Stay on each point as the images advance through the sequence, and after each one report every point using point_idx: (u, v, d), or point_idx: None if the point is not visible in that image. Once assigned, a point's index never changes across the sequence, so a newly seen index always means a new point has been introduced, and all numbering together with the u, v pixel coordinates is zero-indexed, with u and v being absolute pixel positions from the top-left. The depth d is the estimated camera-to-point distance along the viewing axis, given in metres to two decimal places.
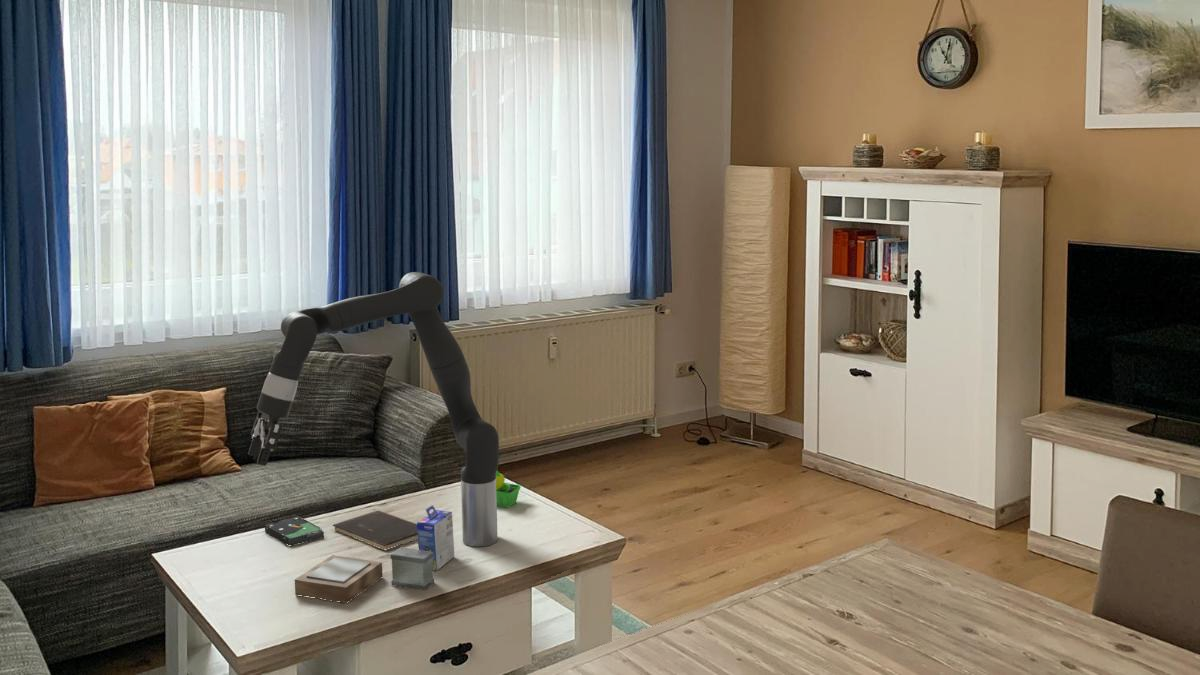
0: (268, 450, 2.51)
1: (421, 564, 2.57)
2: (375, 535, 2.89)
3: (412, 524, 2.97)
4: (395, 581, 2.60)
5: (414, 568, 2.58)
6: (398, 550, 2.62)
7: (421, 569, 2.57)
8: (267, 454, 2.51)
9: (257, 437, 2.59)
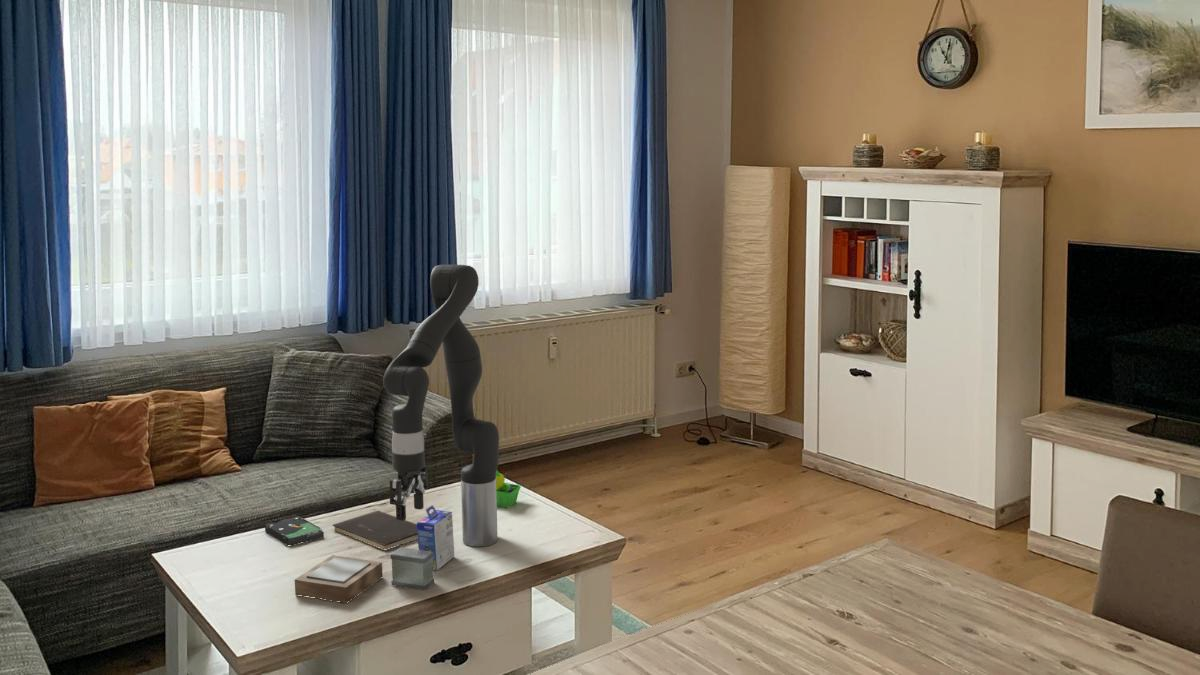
0: (399, 506, 2.53)
1: (421, 564, 2.57)
2: (375, 535, 2.89)
3: (412, 524, 2.97)
4: (395, 581, 2.60)
5: (414, 568, 2.58)
6: (398, 550, 2.62)
7: (421, 569, 2.57)
8: (400, 510, 2.53)
9: (417, 490, 2.62)
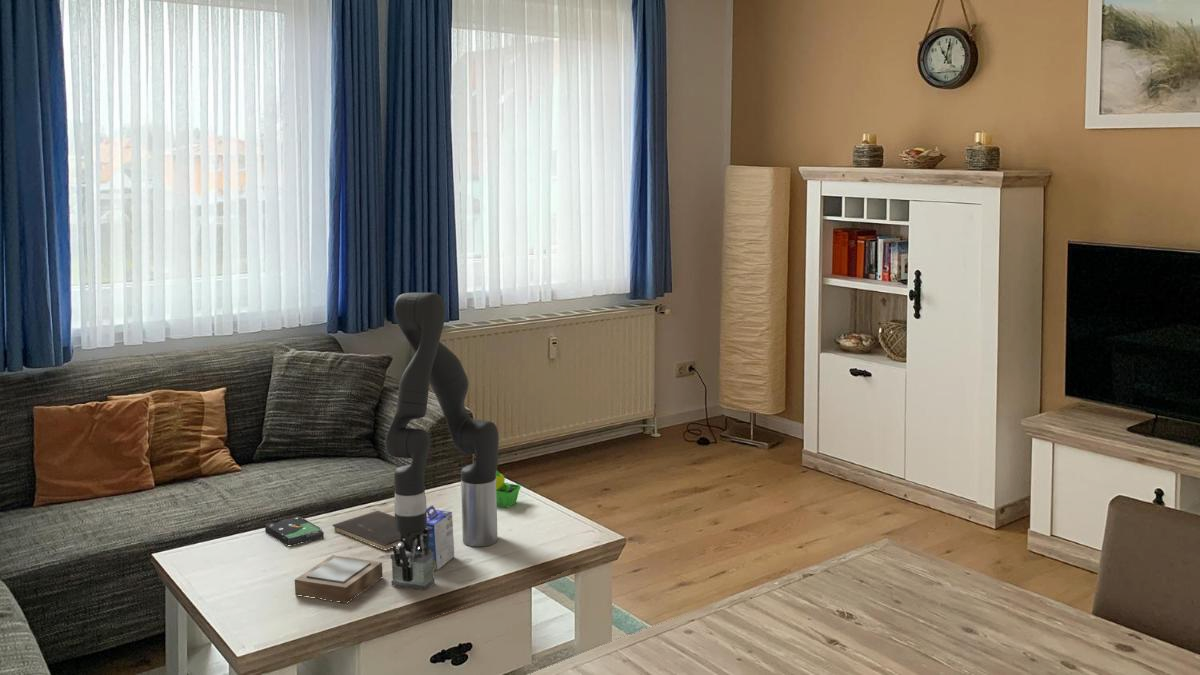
0: (405, 568, 2.57)
1: (421, 564, 2.57)
2: (374, 535, 2.89)
3: None
4: (395, 581, 2.60)
5: (414, 568, 2.58)
6: None
7: (421, 569, 2.57)
8: (406, 571, 2.57)
9: None
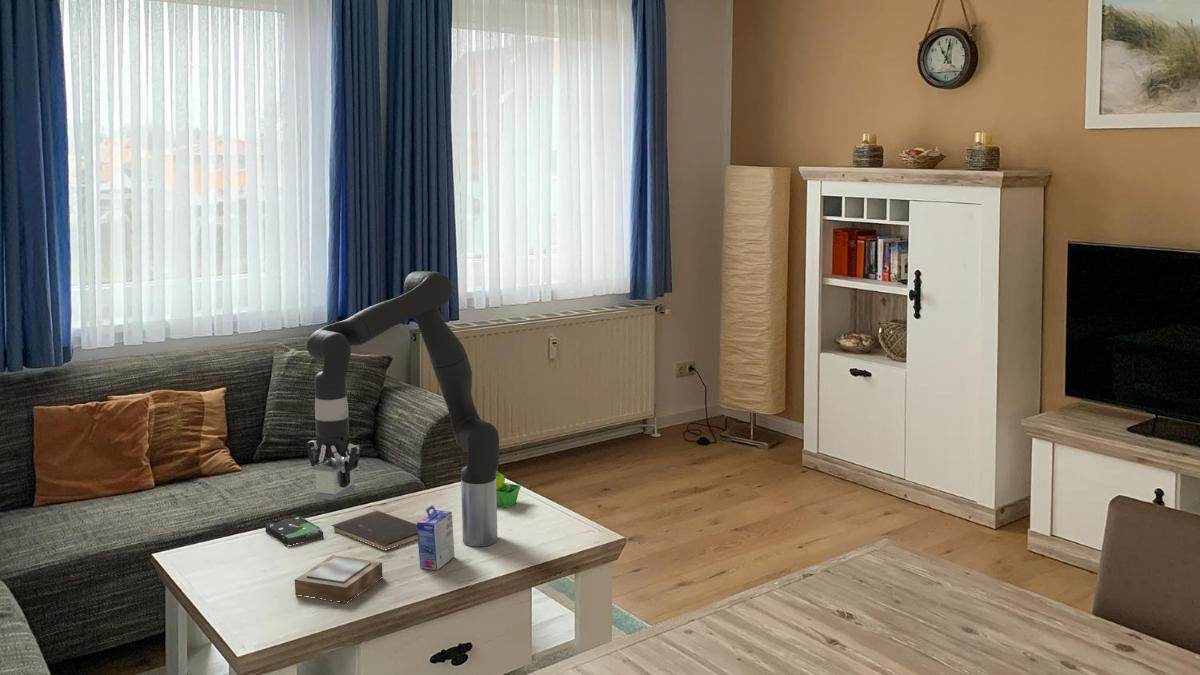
0: (348, 472, 2.54)
1: None
2: (374, 535, 2.88)
3: (412, 524, 2.97)
4: (336, 493, 2.52)
5: None
6: (323, 465, 2.51)
7: None
8: (349, 475, 2.54)
9: None
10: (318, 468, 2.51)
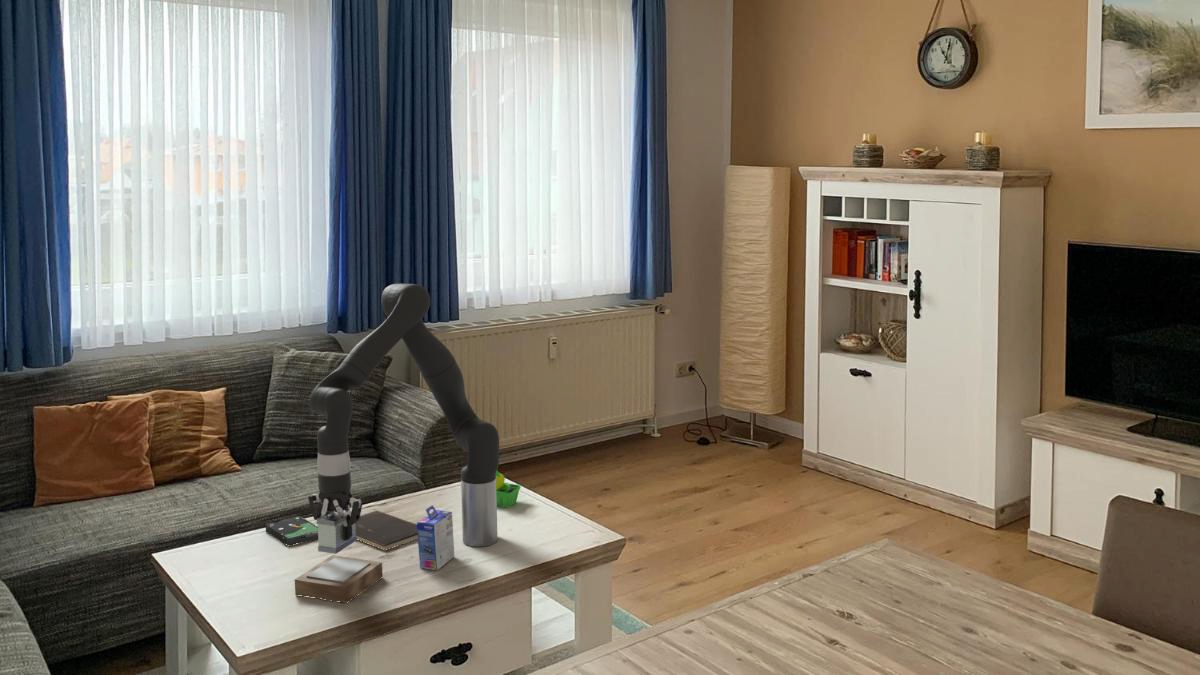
0: (350, 525, 2.57)
1: None
2: (374, 536, 2.88)
3: (412, 524, 2.97)
4: (338, 547, 2.54)
5: None
6: (325, 519, 2.54)
7: None
8: (351, 528, 2.57)
9: None
10: (320, 522, 2.53)
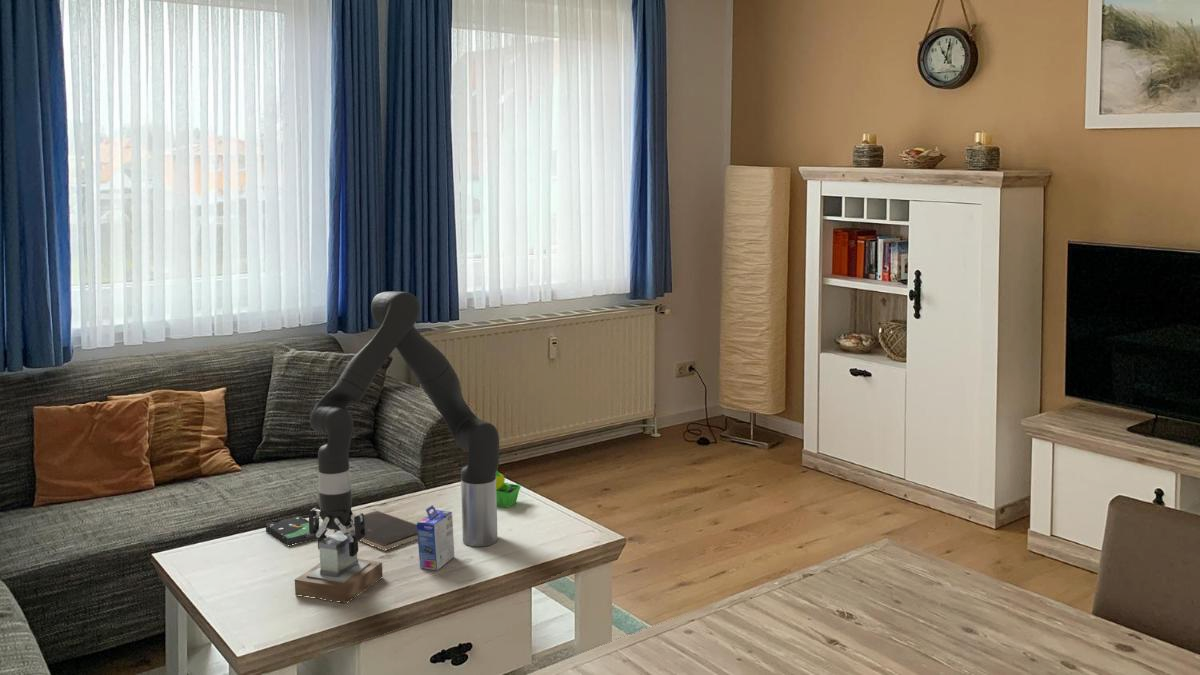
0: (357, 540, 2.57)
1: None
2: (374, 535, 2.88)
3: (411, 524, 2.97)
4: (339, 570, 2.55)
5: None
6: (327, 543, 2.55)
7: None
8: (357, 544, 2.57)
9: (322, 533, 2.59)
10: (322, 546, 2.54)
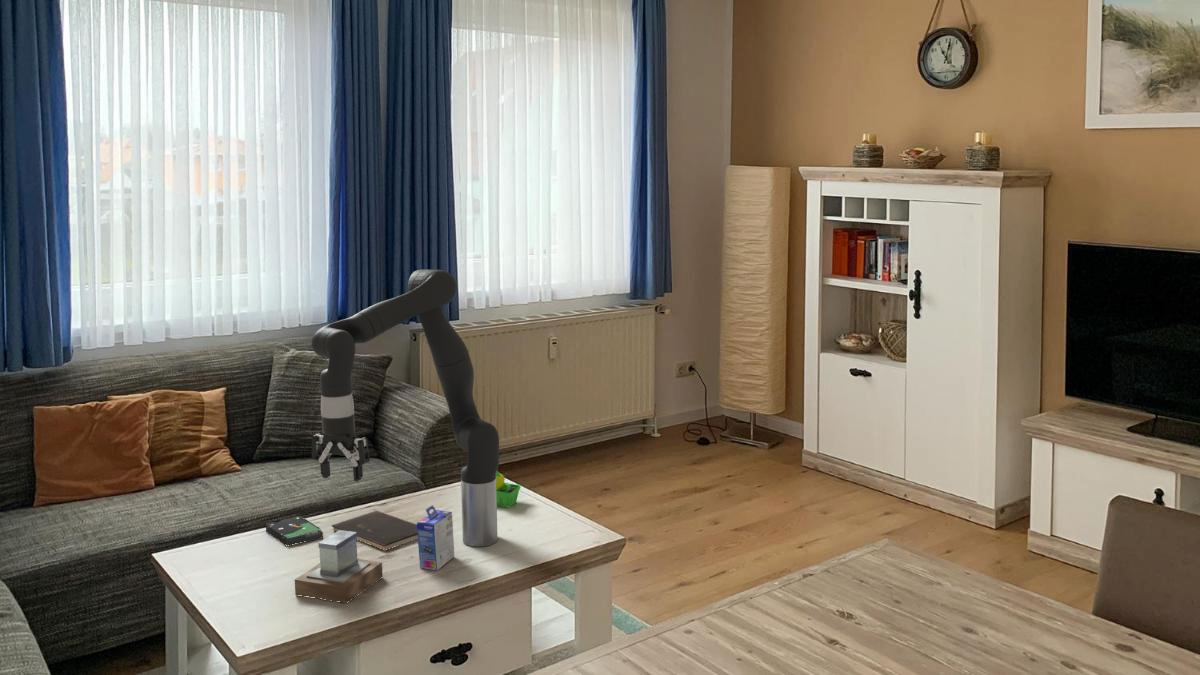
0: (361, 465, 2.54)
1: (355, 538, 2.61)
2: (374, 536, 2.88)
3: (411, 524, 2.97)
4: (339, 570, 2.55)
5: (351, 546, 2.60)
6: (327, 543, 2.55)
7: (355, 544, 2.61)
8: (361, 468, 2.55)
9: (325, 459, 2.57)
10: (322, 546, 2.54)
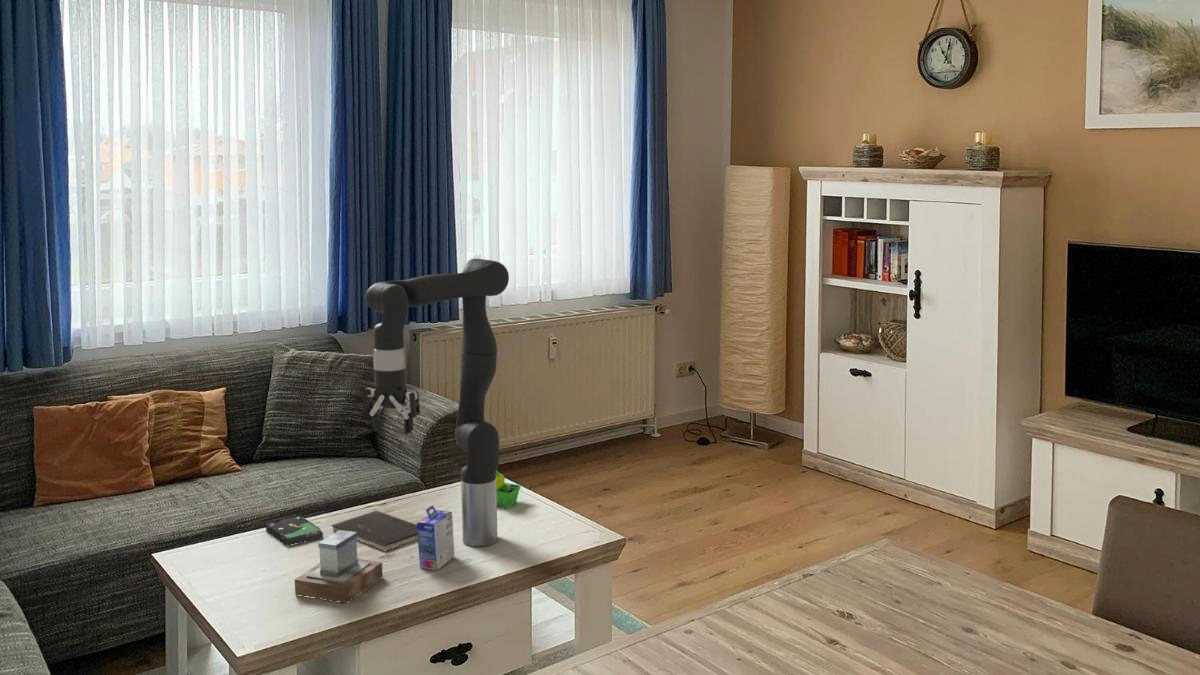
0: (412, 418, 2.60)
1: (355, 538, 2.61)
2: (374, 536, 2.88)
3: (411, 524, 2.97)
4: (339, 570, 2.55)
5: (351, 546, 2.60)
6: (327, 543, 2.55)
7: (355, 544, 2.61)
8: (412, 421, 2.60)
9: (376, 412, 2.62)
10: (322, 546, 2.54)
